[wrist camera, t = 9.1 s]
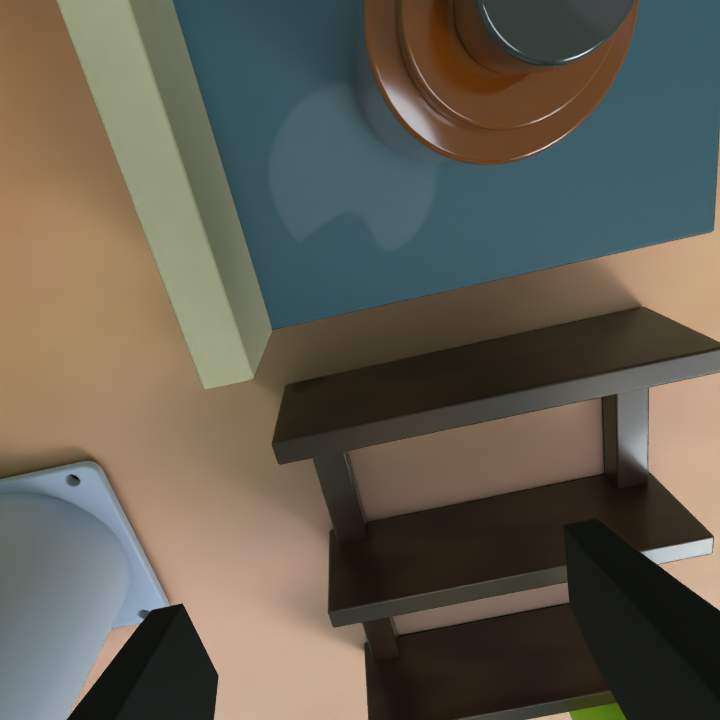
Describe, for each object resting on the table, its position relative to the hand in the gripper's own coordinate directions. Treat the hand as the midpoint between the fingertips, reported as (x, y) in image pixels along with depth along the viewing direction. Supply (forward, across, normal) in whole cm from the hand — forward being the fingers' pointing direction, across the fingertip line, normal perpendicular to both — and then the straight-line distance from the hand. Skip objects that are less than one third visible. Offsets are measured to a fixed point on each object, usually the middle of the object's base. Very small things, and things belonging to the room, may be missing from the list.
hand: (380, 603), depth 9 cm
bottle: (+7, -4, -9) cm, 12 cm away
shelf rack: (+9, -4, +6) cm, 12 cm away
